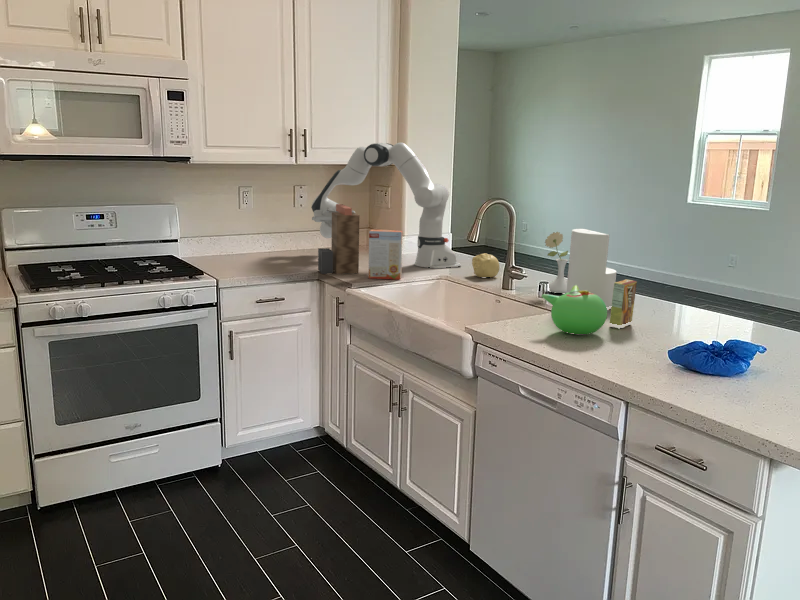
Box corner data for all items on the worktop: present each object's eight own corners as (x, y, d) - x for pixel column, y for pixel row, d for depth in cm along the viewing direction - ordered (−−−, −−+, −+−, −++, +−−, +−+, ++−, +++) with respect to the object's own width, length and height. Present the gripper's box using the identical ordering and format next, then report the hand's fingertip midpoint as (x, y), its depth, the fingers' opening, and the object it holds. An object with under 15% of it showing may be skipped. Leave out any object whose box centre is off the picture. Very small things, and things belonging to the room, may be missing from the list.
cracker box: (401, 277, 295) (403, 230, 290) (400, 280, 289) (401, 231, 284) (369, 276, 296) (371, 228, 292) (367, 278, 290) (369, 230, 286)
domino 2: (330, 271, 304) (330, 249, 302) (331, 272, 302) (331, 250, 300) (319, 271, 303) (319, 249, 300) (320, 272, 301) (320, 250, 299)
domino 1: (328, 270, 307) (329, 248, 305) (329, 270, 306) (329, 248, 303) (318, 270, 306) (318, 248, 304) (318, 270, 304) (318, 249, 302)
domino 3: (331, 272, 301) (332, 250, 298) (332, 273, 299) (332, 251, 297) (320, 273, 299) (320, 250, 297) (321, 273, 298) (321, 251, 296)
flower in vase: (570, 290, 280) (575, 230, 274) (576, 296, 268) (582, 234, 263) (538, 289, 280) (543, 229, 274) (543, 295, 269) (548, 233, 263)
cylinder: (580, 312, 243) (588, 234, 237) (556, 301, 260) (563, 228, 253) (622, 310, 248) (630, 234, 242) (596, 299, 264) (603, 228, 258)
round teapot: (578, 344, 203) (582, 296, 200) (536, 330, 216) (540, 286, 213) (615, 336, 213) (620, 290, 210) (573, 323, 227) (577, 281, 223)
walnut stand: (352, 268, 313) (353, 212, 307) (358, 273, 301) (359, 215, 295) (331, 269, 310) (331, 212, 304) (336, 273, 298) (337, 215, 293)
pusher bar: (342, 210, 313) (342, 204, 312) (351, 215, 294) (351, 208, 294) (335, 210, 312) (336, 204, 312) (345, 215, 294) (345, 208, 293)
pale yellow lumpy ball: (467, 275, 306) (468, 251, 304) (490, 274, 310) (492, 250, 308) (479, 280, 296) (480, 255, 293) (503, 278, 300) (504, 255, 298)
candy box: (620, 322, 230) (625, 278, 226) (632, 325, 227) (637, 280, 224) (608, 327, 223) (613, 282, 220) (620, 330, 221) (625, 284, 217)
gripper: (310, 214, 331) (315, 202, 319) (351, 215, 337) (357, 203, 324) (311, 226, 330) (315, 215, 317) (352, 226, 335) (358, 215, 323)
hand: (337, 209), depth 321 cm, fingers open, 8 cm apart
